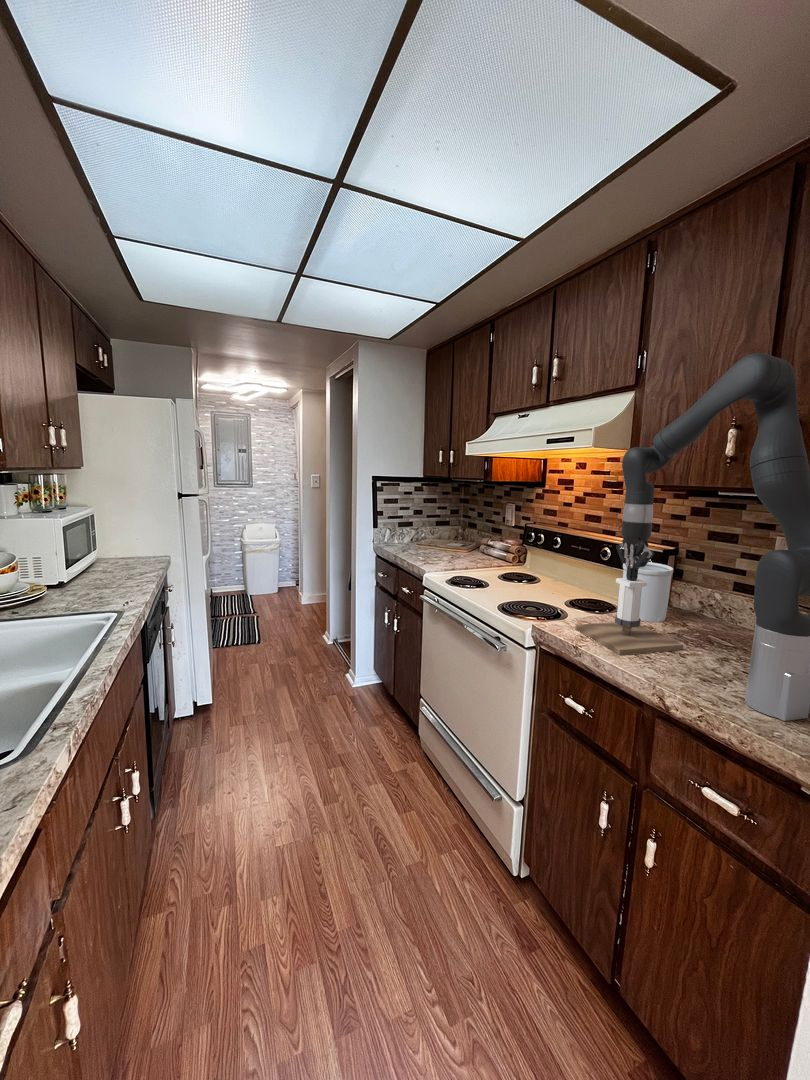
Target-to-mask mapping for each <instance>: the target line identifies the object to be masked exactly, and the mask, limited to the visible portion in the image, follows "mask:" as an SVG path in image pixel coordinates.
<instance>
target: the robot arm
mask: <svg viewBox="0 0 810 1080" xmlns="http://www.w3.org/2000/svg"><path fill="white" fill-rule="evenodd" d="M796 377H797V376H796V372H795V369H794V367H793V366H792V364H791V363H790V362H789V361H787V360H785V359H783V358H780V357H776V356H773V355H771V354H767V353H763V352H756V353H755V352H754V353H750V354H748V355H745V356H744V357H743V356H742V358H740V359H739V360H738V361H736V363H734V364H733V365H732V366H731V367H729V369H728V370H727V371H726V372H724V374H723V375H722V376H721V377H719V379H718V380H717V381H716V382H715V383H713V385H712V386H711V387H709V389H707V391H706V392H705V393H703V394H702V396H700V397H699V399H697V400H696V402H695V403H694V404H692V406H691V407H689V408H688V409H687V410H686V411H685V412H683V414H681V415H680V416H678V418H676V419H675V420H673V421H672V422H671V423H670V424H668V425H667V426H665V427H664V428H663V429H662V430H660V431H659V432H658V433H657V434H656V435H655V436H654V437H653V440H652V443H653V445H651V446H650V447H643V446H641V447H640V446H635V447H631V448H628V450H627V451H626V452H625V454H624V456H623V458H622V463H621V469H622V474H623V480H624V485H625V497H624V506H623V510H622V520H621V531H620V535H621V536H622V537H623V538H622V540H621V541H622V542H621V544H617V545H615V548H616V551H617V553H618V557H619V558H620V561H621V564H623V563H625V564H626V567H627V574H626V577H627V580H630V581H636V580H637V578H638V569H639V568H640V567H645V565H646V564H647V563H648V562H650V561H651V560H652V559H653V557H654V556H655V552H654V551H653V550H652V551H651V550H650V548H649V542H648V540H649V539H650V538H651V537H652V529H653V519H654V518H653V517H654V498H655V486H654V484H652V483H651V482H648V481H647V477H646V474H653V473H656V472H658V471H660V470H661V469H663V468H664V467H665V466H666V465H667V464H668V463H669V462H670V460H672V459H673V458H674V456H675V455H676V454H677V453H679V452H681V451H682V450H684V449H685V448H686V447H688V446H690V445H691V444H693V443H694V442H695V441H697V440H698V439H699V438H700V437H701V436H702V435H703V434H704V433H705V432H706V430H707V429H708V427H709V425H710V424H711V423H712V421H713V420H714V419H715V417H717V415H718V414H720V412H722V411H723V410H724V409H726V408H727V407H729V406H731V405H732V404H735V403H737V402H739V401H740V400H747V401H750V402H752V404H753V408H754V411H755V415H756V420H757V435H756V437H755V440H754V443H753V446H752V449H751V452H750V457H749V469H750V475H751V481H752V487H753V490H754V493H755V495H756V496H757V498H758V500H759V501H760V502H761V503H762V504H763V506H764V507H765V508H766V510H767V511H768V512H769V513H770V514H771V516H773V518H774V519H775V520H776V521H777V523H778V525H779V526H780V527H781V530H782V532H783V534H784V537H785V543H786V547H787V548H786V549H773V550H769V551H767V552H765V553H764V554H763V555H762V556H761V558H760V559H759V561H758V564H757V566H756V570H755V579H754V591H753V592H754V593H753V594H754V595H753V609H754V613H755V616H756V617H755V625H754V633H753V640H752V647H751V655H750V660H749V661H750V662H749V670H748V676H747V681H746V682H747V683H746V690H745V691H746V692H745V696H744V697H745V698H744V702H745V704H746V705H747V706H748V707H750V708H752V709H753V710H755V711H756V712H759V713H761V714H764V715H767V716H770V717H772V718H776V719H779V720H781V721H784V722H788V721H795V720H802V719H808V718H809V712H810V615H808V614H806V613H803V612H801V611H800V609H799V603H800V597H810V464H809V459H808V454H807V450H806V447H805V441H804V436H803V430H802V427H801V422H800V418H799V412H798V397H797V394H798V393H797V378H796Z"/></svg>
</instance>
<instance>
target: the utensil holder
mask: <svg viewBox="0 0 810 1080" xmlns="http://www.w3.org/2000/svg"><path fill="white" fill-rule="evenodd" d="M622 569H623V571H622V578H627V577H626V574H627V567H626V564H625V563H622ZM673 573H674V568H673V567H672V566H669V565H667V564H663V563H657V562H650V561H649V562H648V563H647V564H646V565H645V567H640V568H639V569H638V578H637V579H639V580H642V581H645V582H647V586H644V587H642V593H641V604H640V614H639V618H640V619H641V621H640V622H644V621H649V622H648V623H660V622H663V621H665V620H666V619H667V618H666V617H667V612H668V611H667V610H668V606H669V605H668V604H669V598H670V592H671V585H672V584H671V582H672V576H673Z"/></svg>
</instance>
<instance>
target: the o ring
mask: <svg viewBox="0 0 810 1080" xmlns="http://www.w3.org/2000/svg"><path fill="white" fill-rule="evenodd" d="M640 620H641V619H640V618H639V620H638V621H626V620H622V619H619V618H617V614H615V617H614V622H615V623H617V624H619V625H622V626H627V627H639V626H640V625H641V621H640Z"/></svg>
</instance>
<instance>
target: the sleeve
mask: <svg viewBox="0 0 810 1080" xmlns="http://www.w3.org/2000/svg"><path fill="white" fill-rule="evenodd" d="M615 583H616V584H619V588H618V600H617V601H618V602H617V611H616V612H617V613H616V615H617V618H619V619H622V620H626V621H638V620H639V614H640V604H641V593H642V587H644V586H647V582H645V581H642V580H639V579H637V580H636V581H630V580H627V578H623V577H619V578H618V577H616V579H615Z"/></svg>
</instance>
